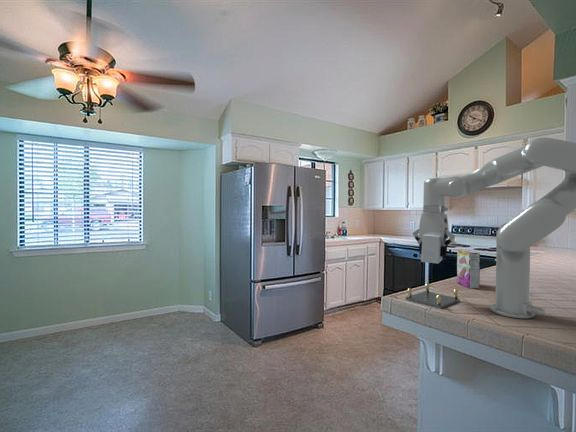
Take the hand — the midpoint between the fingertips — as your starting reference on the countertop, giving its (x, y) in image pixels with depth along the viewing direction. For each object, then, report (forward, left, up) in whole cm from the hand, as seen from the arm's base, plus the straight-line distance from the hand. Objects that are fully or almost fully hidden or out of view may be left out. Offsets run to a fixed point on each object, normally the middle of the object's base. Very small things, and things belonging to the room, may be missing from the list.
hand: (432, 254), depth 122 cm
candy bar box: (+2, -36, -18) cm, 40 cm away
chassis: (0, 0, -18) cm, 18 cm away
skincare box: (0, 0, -3) cm, 3 cm away
